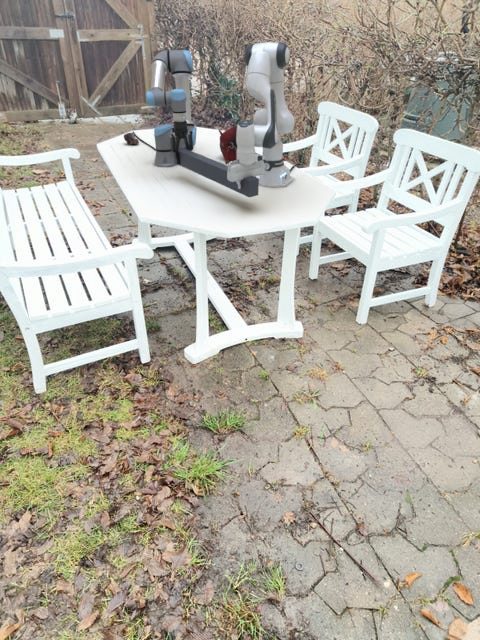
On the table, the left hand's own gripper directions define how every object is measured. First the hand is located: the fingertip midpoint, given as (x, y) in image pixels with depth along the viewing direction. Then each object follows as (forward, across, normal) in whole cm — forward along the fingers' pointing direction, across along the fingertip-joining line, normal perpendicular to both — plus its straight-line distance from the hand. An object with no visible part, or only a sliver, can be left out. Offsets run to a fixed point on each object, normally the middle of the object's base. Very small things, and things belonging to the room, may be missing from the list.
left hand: (183, 163), depth 262 cm
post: (+1, +1, -30) cm, 31 cm away
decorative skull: (+10, +50, +18) cm, 54 cm away
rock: (+10, +8, +99) cm, 99 cm away
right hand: (-2, +2, -61) cm, 61 cm away
